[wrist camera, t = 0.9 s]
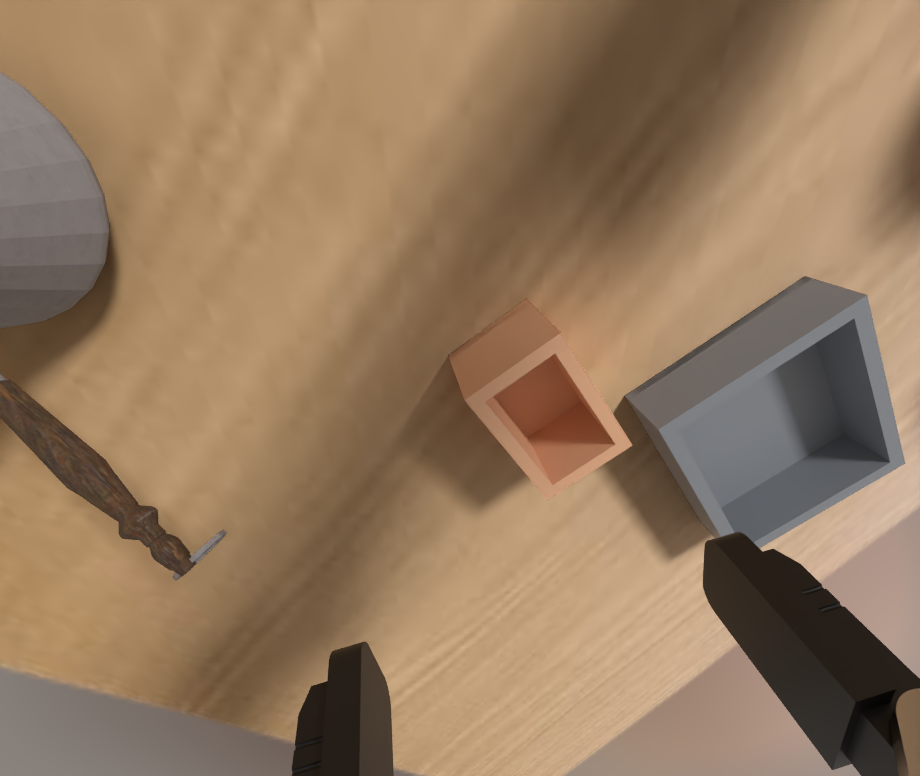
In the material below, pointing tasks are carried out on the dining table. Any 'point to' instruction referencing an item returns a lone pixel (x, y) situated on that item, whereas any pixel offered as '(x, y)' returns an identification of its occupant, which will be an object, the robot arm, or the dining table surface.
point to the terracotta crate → (537, 399)
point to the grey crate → (776, 413)
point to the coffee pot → (60, 298)
